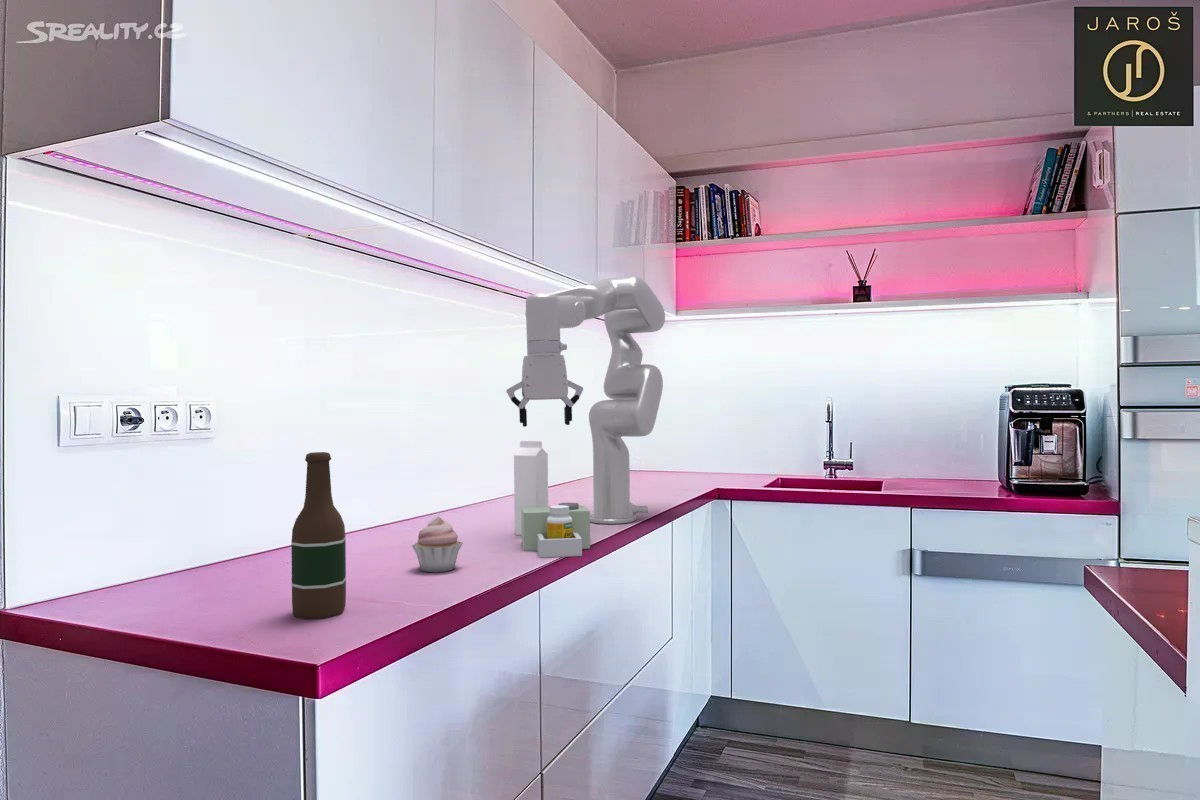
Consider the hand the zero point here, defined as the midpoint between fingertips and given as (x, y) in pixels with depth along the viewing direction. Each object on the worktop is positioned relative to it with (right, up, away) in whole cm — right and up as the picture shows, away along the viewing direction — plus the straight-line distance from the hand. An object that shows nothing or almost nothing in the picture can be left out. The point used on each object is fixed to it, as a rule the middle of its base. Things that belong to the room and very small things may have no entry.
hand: (546, 425), depth 171 cm
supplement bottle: (+4, -26, -13) cm, 30 cm away
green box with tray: (+3, -26, -10) cm, 28 cm away
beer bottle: (-30, -26, -57) cm, 70 cm away
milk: (-4, -26, +10) cm, 28 cm away
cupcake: (-18, -26, -28) cm, 43 cm away
